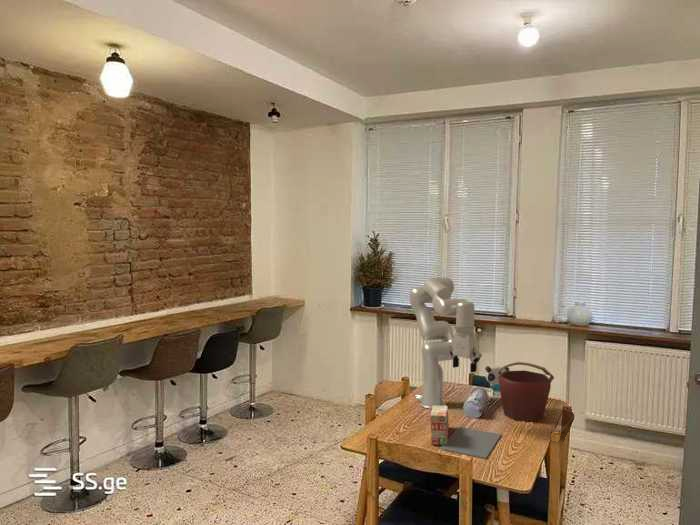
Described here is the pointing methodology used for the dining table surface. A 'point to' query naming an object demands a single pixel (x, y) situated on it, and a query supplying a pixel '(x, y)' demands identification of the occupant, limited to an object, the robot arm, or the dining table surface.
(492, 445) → the rubber mat
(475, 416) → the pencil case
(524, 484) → the dining table surface
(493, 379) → the panda figurine
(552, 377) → the bucket
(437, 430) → the stack of blocks
